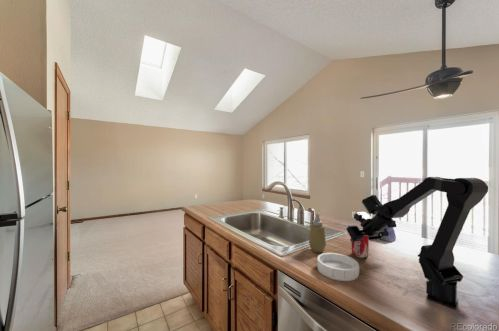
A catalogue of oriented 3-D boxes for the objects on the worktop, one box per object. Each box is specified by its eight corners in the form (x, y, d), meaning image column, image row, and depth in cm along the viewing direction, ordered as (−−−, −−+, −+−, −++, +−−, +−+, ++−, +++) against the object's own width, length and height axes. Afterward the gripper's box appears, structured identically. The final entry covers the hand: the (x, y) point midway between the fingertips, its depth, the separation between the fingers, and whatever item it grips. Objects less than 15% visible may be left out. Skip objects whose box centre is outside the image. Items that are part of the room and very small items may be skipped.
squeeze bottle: (307, 251, 101) (307, 214, 101) (310, 246, 108) (310, 211, 108) (324, 255, 97) (325, 216, 97) (327, 249, 104) (327, 213, 104)
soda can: (370, 259, 93) (371, 232, 93) (353, 258, 94) (354, 231, 94) (365, 253, 100) (365, 228, 100) (349, 251, 101) (349, 227, 101)
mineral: (394, 222, 121) (392, 225, 113) (396, 239, 120) (394, 243, 112) (366, 221, 130) (362, 223, 123) (368, 236, 129) (364, 240, 122)
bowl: (364, 272, 82) (364, 261, 82) (347, 286, 72) (347, 274, 72) (328, 258, 93) (329, 250, 93) (310, 269, 83) (310, 259, 83)
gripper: (383, 206, 96) (363, 223, 106) (349, 208, 91) (332, 226, 101) (399, 228, 88) (376, 244, 99) (364, 231, 83) (344, 248, 93)
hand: (357, 240), depth 98 cm, fingers closed on soda can, 7 cm apart
